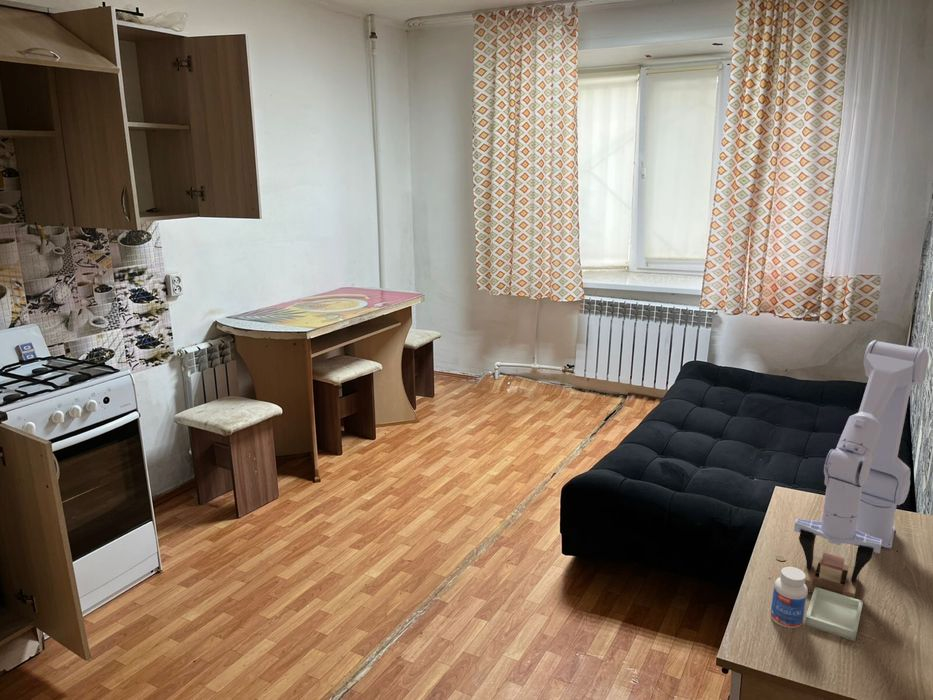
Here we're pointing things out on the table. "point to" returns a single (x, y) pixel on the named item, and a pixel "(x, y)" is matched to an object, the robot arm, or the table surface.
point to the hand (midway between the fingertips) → (831, 572)
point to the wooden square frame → (814, 581)
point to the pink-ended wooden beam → (831, 568)
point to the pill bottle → (789, 598)
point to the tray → (834, 613)
